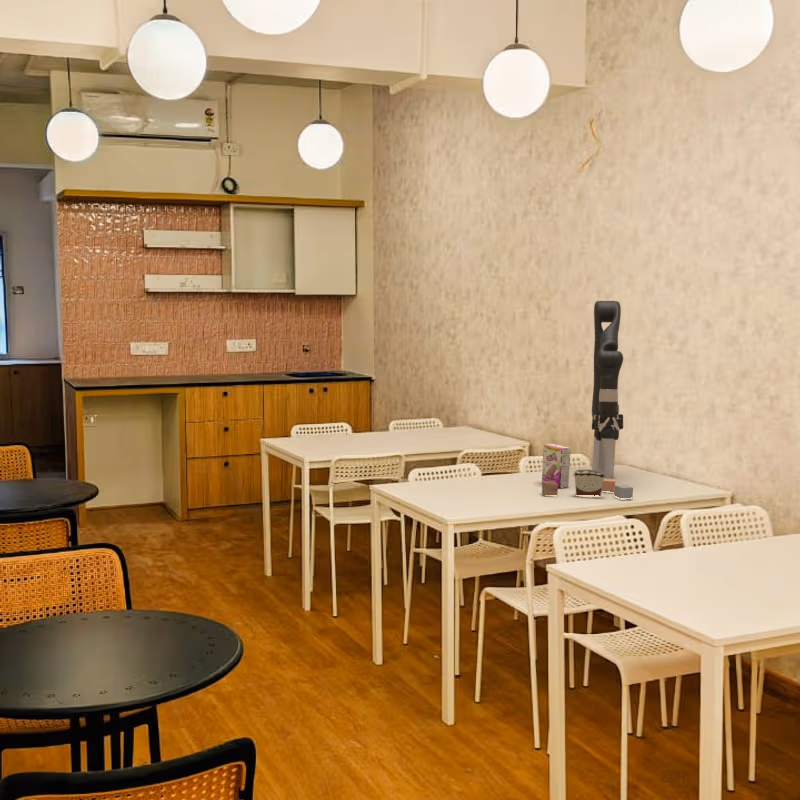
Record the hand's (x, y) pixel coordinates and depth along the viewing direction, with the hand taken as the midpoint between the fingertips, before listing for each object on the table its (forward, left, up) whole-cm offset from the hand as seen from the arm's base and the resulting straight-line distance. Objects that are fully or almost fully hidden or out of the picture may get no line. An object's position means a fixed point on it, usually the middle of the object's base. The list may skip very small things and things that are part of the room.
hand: (607, 440), depth 408 cm
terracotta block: (+9, -1, -20) cm, 21 cm away
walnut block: (+17, -26, -20) cm, 37 cm away
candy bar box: (-1, -20, -20) cm, 28 cm away
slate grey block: (+21, +2, -20) cm, 29 cm away
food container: (+17, -11, -20) cm, 28 cm away
